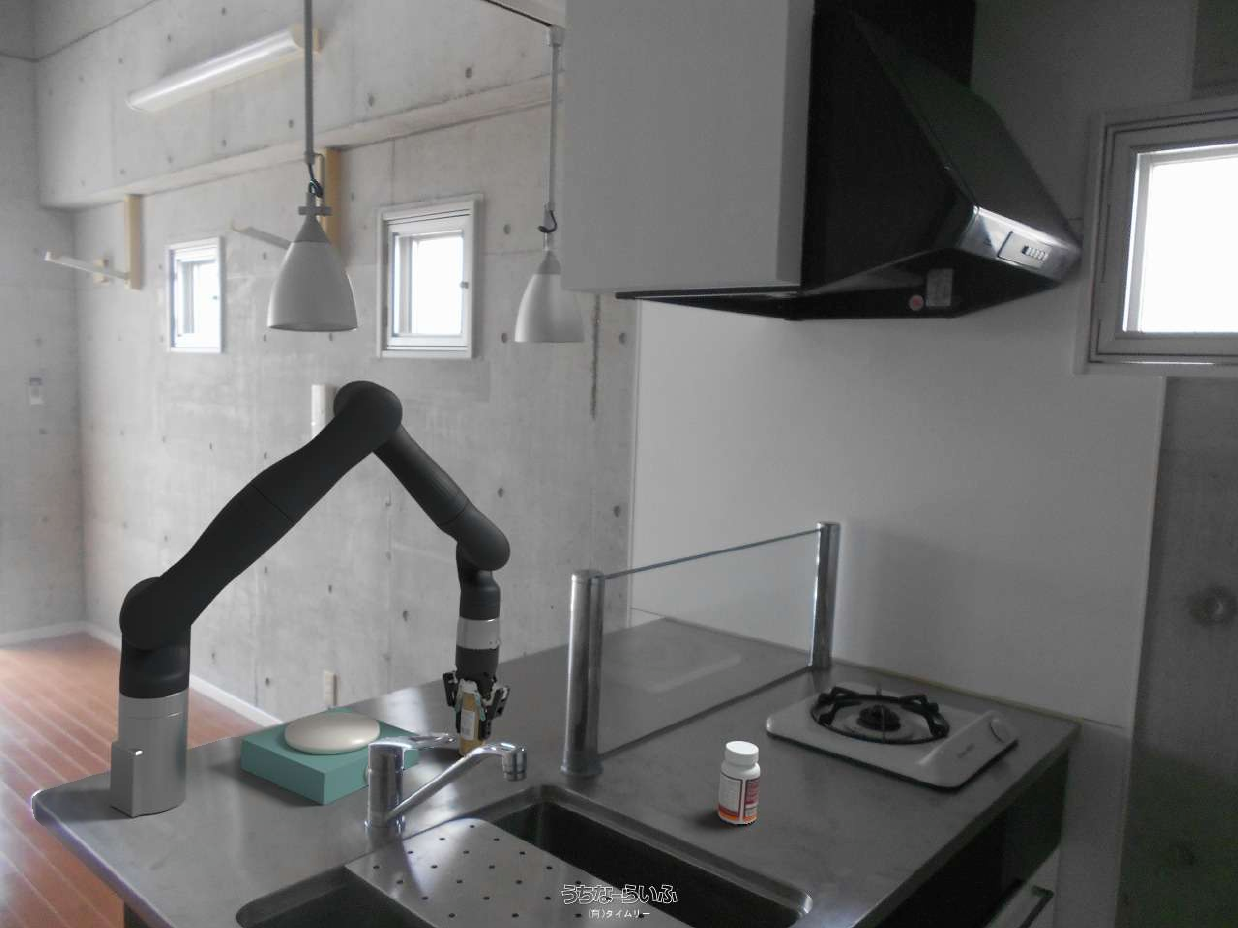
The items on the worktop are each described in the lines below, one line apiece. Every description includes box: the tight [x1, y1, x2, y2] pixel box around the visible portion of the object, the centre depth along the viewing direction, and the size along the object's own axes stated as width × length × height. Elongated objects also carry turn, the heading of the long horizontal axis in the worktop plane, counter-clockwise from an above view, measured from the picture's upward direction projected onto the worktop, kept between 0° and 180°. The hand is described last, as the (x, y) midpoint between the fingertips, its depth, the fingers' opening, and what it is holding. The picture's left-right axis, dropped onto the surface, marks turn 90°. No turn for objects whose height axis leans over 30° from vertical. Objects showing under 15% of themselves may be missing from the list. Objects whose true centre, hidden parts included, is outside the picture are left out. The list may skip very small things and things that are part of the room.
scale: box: [240, 705, 421, 806], centre depth 150 cm, size 20×20×5 cm
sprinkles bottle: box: [458, 680, 487, 757], centre depth 159 cm, size 5×5×13 cm
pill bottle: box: [717, 740, 761, 825], centre depth 142 cm, size 6×6×11 cm
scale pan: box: [285, 712, 380, 754], centre depth 150 cm, size 15×15×1 cm
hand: (472, 735), depth 159 cm, fingers closed on sprinkles bottle, 4 cm apart
